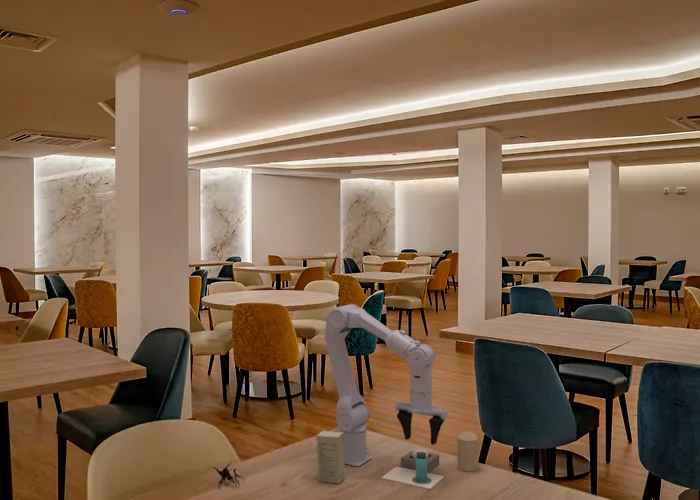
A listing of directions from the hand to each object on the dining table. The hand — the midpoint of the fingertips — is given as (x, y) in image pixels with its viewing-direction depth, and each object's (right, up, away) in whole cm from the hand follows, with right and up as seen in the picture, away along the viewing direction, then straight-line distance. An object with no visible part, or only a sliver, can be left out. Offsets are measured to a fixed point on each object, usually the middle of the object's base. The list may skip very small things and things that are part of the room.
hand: (420, 441), depth 168 cm
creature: (-50, -10, -7) cm, 51 cm away
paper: (-2, -9, -3) cm, 10 cm away
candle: (+13, -9, +4) cm, 17 cm away
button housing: (+1, -9, +6) cm, 11 cm away
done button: (+1, -7, +6) cm, 9 cm away
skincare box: (-24, -9, -4) cm, 26 cm away
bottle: (0, -9, -5) cm, 10 cm away
